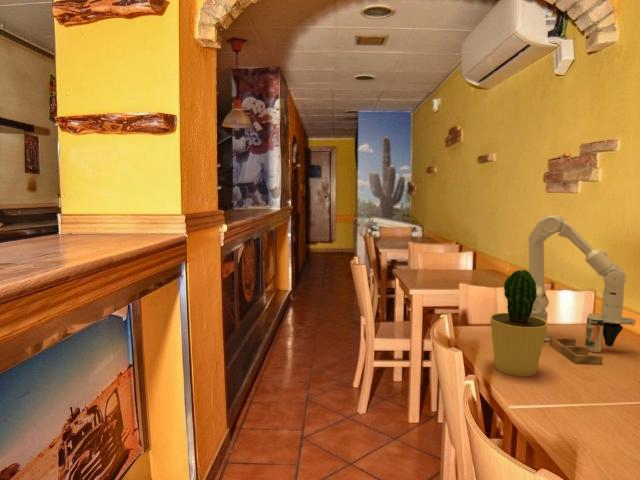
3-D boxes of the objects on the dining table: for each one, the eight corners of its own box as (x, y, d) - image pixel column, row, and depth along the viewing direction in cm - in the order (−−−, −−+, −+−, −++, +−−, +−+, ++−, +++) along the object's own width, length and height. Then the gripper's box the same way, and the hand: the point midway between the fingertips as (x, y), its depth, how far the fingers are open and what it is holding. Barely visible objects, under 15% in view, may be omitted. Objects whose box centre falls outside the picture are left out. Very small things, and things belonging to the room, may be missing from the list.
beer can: (581, 348, 154) (583, 313, 153) (592, 347, 156) (594, 312, 154) (593, 353, 150) (596, 317, 148) (605, 352, 151) (607, 316, 150)
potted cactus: (523, 358, 145) (530, 263, 141) (556, 378, 130) (564, 272, 126) (477, 360, 142) (483, 263, 139) (505, 380, 127) (511, 272, 124)
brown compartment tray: (575, 363, 141) (575, 355, 140) (549, 345, 158) (550, 337, 157) (602, 364, 140) (602, 356, 140) (573, 345, 157) (574, 338, 157)
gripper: (596, 307, 147) (592, 349, 149) (643, 308, 147) (639, 350, 148) (584, 302, 154) (581, 341, 156) (629, 303, 154) (625, 343, 155)
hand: (608, 345), depth 152 cm, fingers closed
